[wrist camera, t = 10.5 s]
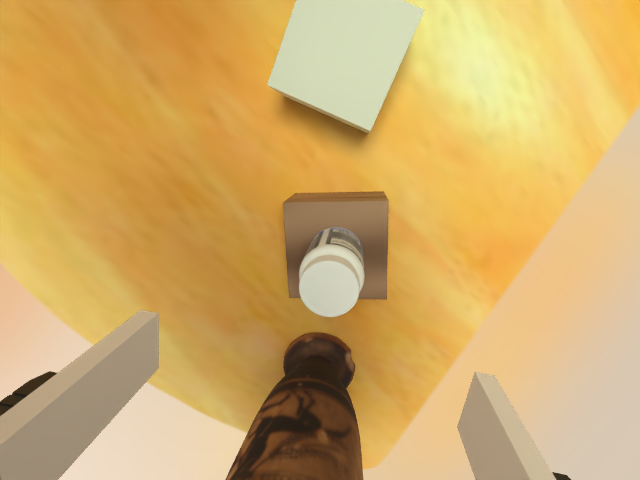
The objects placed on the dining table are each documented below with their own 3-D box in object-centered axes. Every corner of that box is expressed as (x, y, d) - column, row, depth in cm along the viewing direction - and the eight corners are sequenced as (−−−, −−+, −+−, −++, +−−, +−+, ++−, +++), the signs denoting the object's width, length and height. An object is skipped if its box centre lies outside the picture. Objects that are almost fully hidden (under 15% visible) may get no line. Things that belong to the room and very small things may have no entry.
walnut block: (295, 193, 35) (283, 202, 29) (383, 191, 34) (388, 200, 28) (299, 274, 37) (289, 297, 32) (382, 275, 36) (386, 299, 31)
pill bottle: (321, 283, 31) (308, 331, 23) (301, 237, 30) (280, 269, 22) (371, 266, 30) (375, 310, 22) (352, 218, 29) (349, 245, 21)
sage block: (319, -6, 30) (310, -42, 24) (411, 36, 30) (424, 10, 24) (283, 95, 32) (267, 85, 27) (368, 133, 33) (370, 131, 27)
